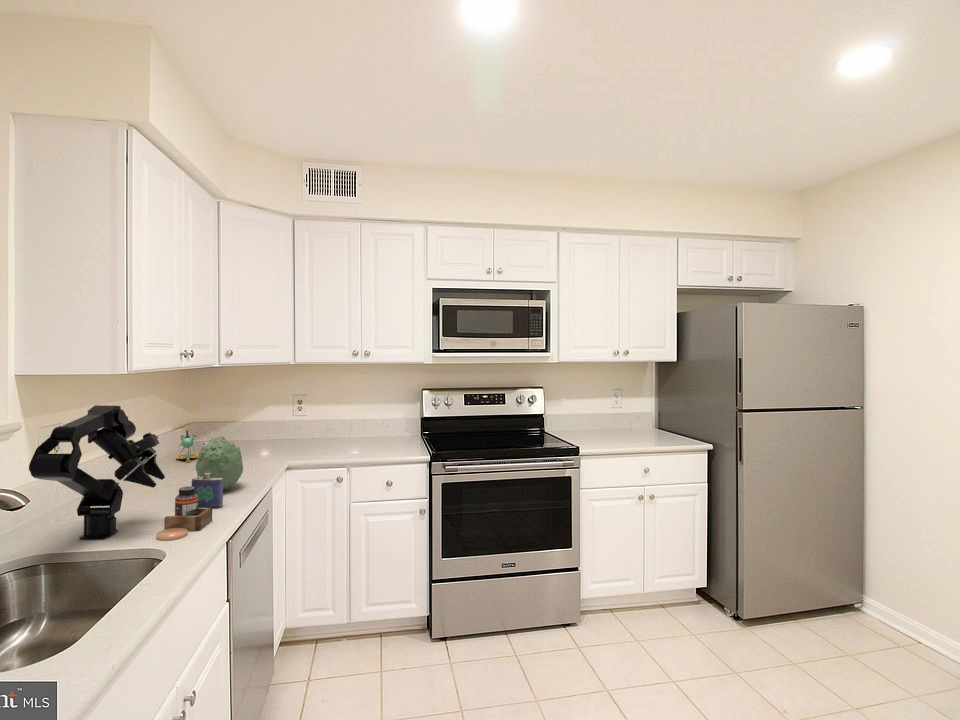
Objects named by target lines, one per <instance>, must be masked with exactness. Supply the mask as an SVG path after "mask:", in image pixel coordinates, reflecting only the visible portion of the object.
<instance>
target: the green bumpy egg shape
mask: <svg viewBox="0 0 960 720" xmlns="http://www.w3.org/2000/svg"><path fill="white" fill-rule="evenodd" d="M240 448H241V447H240V446H237V447H236V445H235V443H234V442H233V443H231V442H230V441H229V440H228V439H227V438H226V437H225V436H223V435H222V436H218V437H215V438H211V439H210V440H209V439H207V440H206V441H205V442H203V443H202V444H201V448H200V451H199V452H198V457H196V464H195V471H196V475H197V476H196V477H199V476H200V478H202V477H203V476H205V474H204V473H211V474H210V477H209V478H223V491H226V490H228V489H229V488H231V487H233V486H234V485H235V484H236V483H237V482H238V481H239V480H240V478H241V477H242V474H243V472H244V464H243V457H242V453H241V452H242V451H241V449H240Z"/></svg>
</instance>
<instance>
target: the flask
mask: <svg viewBox="0 0 960 720" xmlns="http://www.w3.org/2000/svg"><path fill="white" fill-rule="evenodd" d="M204 474H205V476H203V477H202V478H200V476H199V477H198V476H196V477H193V478H192V479H191V486H192V487H194V490H195V491H194V493H195V494H197V495H198V508H212V509H214V510H215V509H221V508H222V507H223V506H224V500H223V498H224V490H223V478H209V477H210V474H211V473H204Z"/></svg>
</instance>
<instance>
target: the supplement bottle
mask: <svg viewBox="0 0 960 720" xmlns="http://www.w3.org/2000/svg"><path fill="white" fill-rule="evenodd" d="M194 491H195V490H194V487H192V485H191V486H189V485H187V486H182V487H179V488H178V494H177V495H176V496H175V499H174V516H197V515H198V495H197V494H195V493H194Z"/></svg>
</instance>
